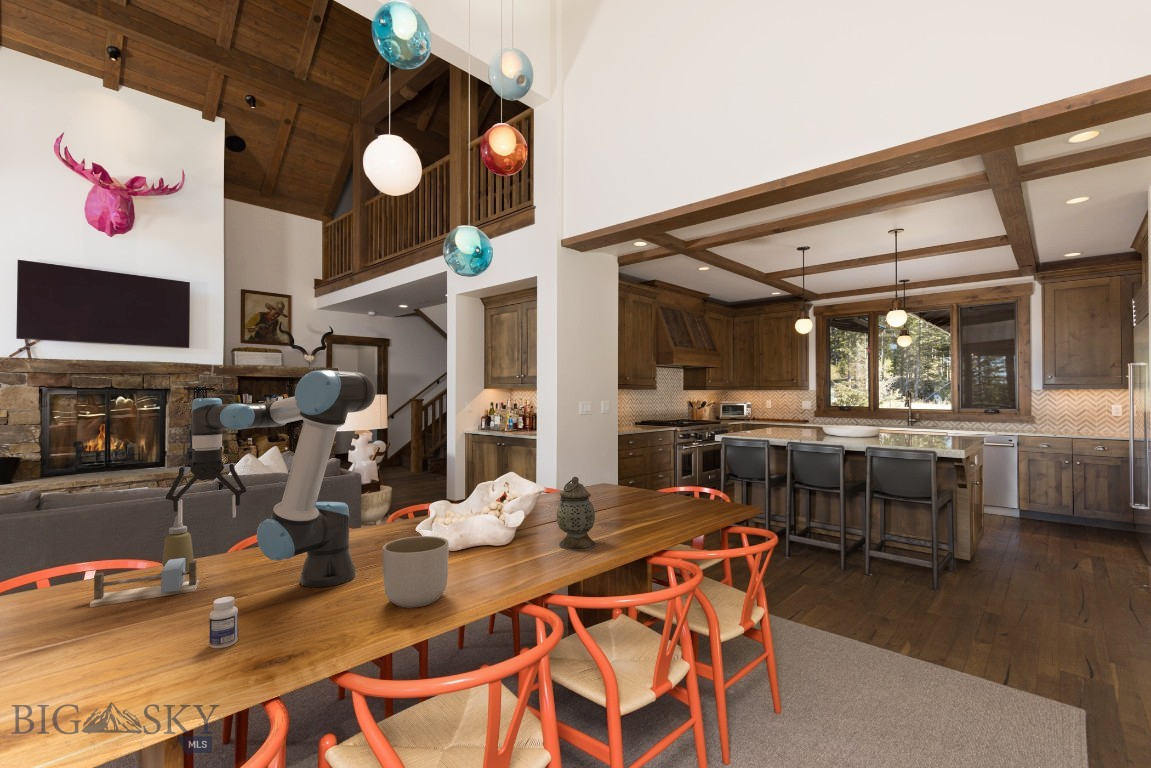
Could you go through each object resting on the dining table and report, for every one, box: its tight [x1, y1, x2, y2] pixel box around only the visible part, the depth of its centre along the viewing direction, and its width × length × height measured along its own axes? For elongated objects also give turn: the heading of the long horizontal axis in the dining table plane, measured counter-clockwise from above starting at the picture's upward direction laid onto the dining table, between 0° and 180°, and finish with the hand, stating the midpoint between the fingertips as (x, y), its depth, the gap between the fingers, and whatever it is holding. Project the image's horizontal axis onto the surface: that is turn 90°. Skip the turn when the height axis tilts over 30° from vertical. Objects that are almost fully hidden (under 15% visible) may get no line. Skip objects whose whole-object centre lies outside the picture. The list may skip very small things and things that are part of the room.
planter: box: [381, 535, 450, 609], centre depth 145 cm, size 17×17×15 cm
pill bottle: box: [209, 596, 239, 649], centre depth 121 cm, size 5×5×10 cm
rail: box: [89, 559, 200, 608], centre depth 153 cm, size 23×8×8 cm, turn 119°
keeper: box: [160, 558, 186, 593], centre depth 155 cm, size 4×12×6 cm, turn 29°
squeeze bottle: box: [161, 515, 195, 571], centre depth 171 cm, size 8×8×18 cm
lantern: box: [556, 476, 597, 551], centre depth 197 cm, size 14×14×25 cm
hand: (207, 519), depth 164 cm, fingers open, 13 cm apart
